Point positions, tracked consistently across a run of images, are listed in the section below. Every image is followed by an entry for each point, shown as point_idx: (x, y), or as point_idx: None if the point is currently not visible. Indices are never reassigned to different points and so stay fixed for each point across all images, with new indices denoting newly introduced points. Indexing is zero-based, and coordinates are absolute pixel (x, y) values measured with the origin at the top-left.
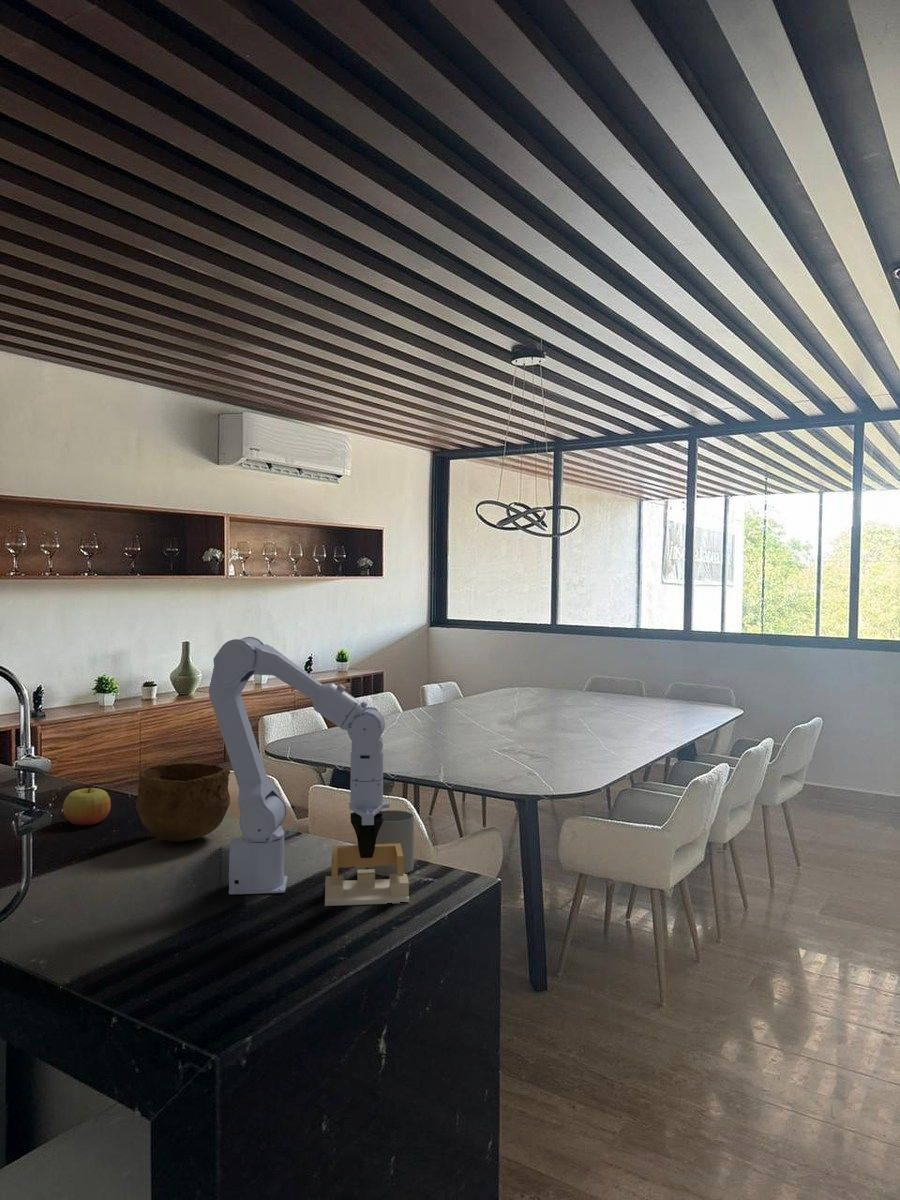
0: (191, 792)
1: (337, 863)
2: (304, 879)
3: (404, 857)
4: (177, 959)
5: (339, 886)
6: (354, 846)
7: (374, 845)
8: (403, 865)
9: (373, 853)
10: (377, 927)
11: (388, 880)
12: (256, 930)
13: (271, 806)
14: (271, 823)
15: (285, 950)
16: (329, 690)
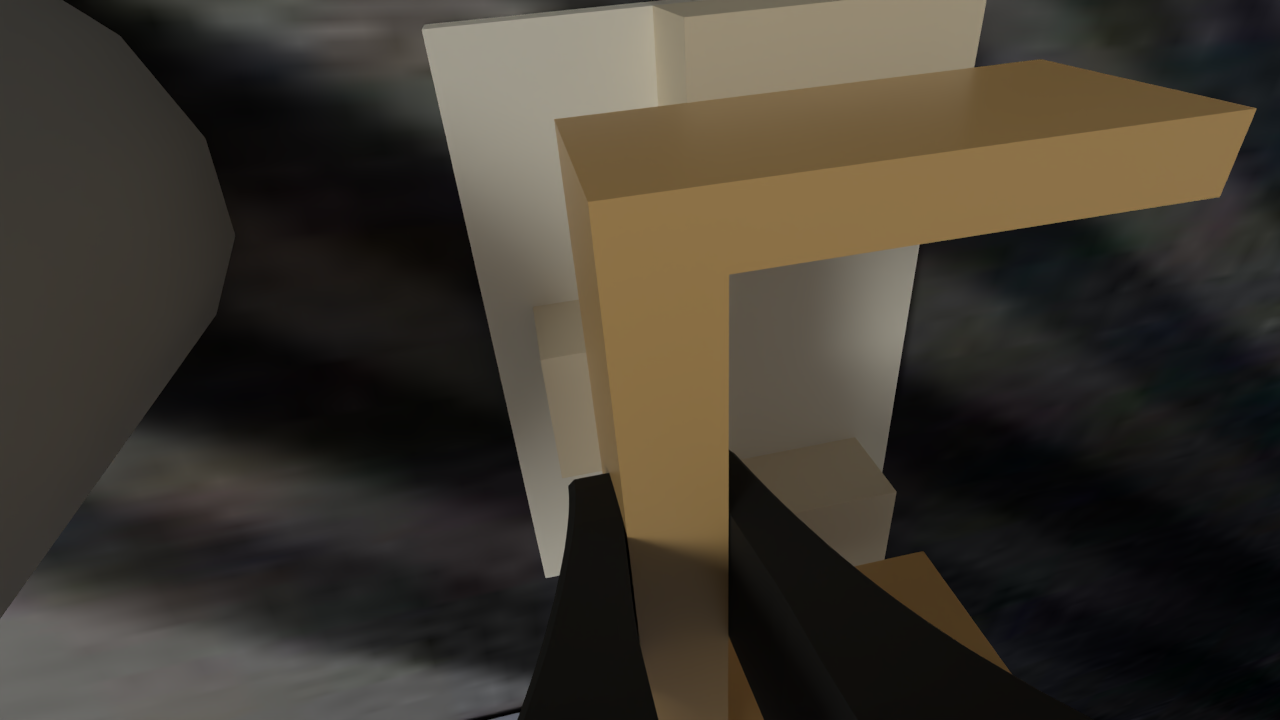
0: None
1: (991, 646)
2: (439, 665)
3: (11, 67)
4: (1164, 709)
5: (888, 505)
6: (692, 673)
7: (807, 530)
8: (82, 64)
9: (747, 470)
10: (1252, 185)
11: (501, 195)
12: (1047, 628)
13: None
14: None
15: (1265, 504)
16: None
